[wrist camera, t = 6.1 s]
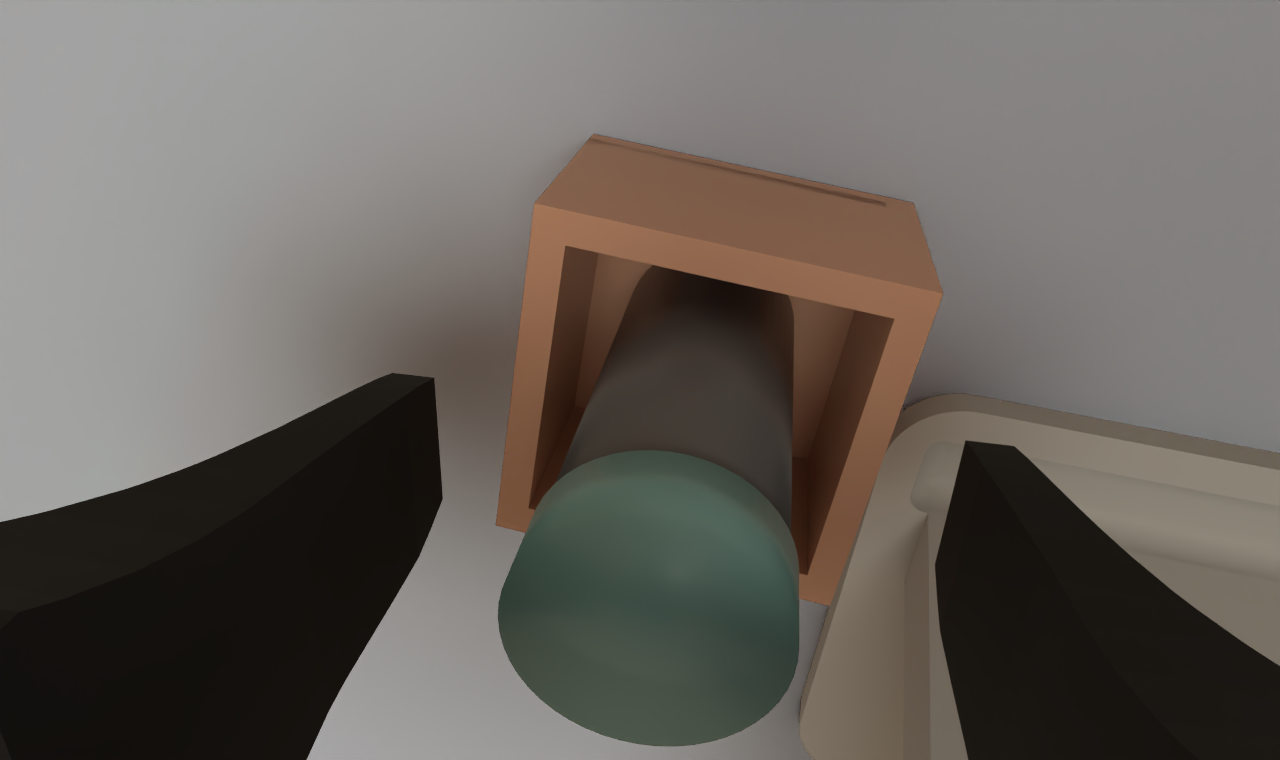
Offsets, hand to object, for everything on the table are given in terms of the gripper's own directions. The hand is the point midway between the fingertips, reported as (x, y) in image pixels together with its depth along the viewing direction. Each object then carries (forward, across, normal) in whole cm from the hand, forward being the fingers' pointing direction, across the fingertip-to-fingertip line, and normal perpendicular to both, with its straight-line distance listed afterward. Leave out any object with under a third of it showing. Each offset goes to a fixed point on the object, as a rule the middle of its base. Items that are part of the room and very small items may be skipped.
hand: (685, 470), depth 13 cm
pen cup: (+5, 0, 0) cm, 5 cm away
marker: (+5, 0, 0) cm, 5 cm away
